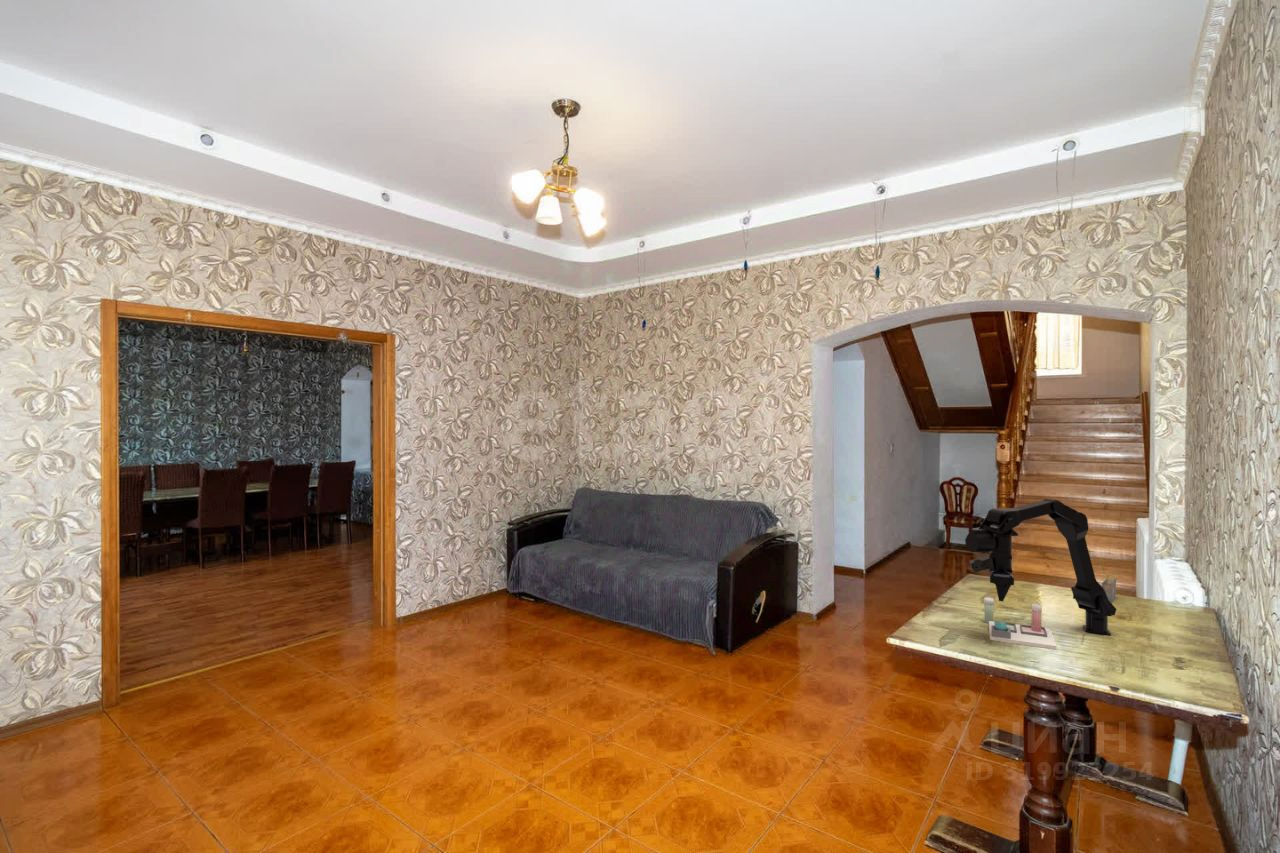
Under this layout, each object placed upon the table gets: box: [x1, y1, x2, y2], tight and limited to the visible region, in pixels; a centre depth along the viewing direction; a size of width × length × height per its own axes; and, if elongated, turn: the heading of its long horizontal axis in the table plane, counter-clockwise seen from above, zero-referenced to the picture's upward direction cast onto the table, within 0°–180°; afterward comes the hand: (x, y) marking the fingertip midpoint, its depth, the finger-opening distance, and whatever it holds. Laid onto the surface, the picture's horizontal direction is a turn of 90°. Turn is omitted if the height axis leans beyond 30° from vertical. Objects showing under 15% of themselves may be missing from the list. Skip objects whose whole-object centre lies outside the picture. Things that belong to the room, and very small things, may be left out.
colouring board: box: [988, 620, 1058, 650], centre depth 193 cm, size 17×17×3 cm
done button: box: [994, 621, 1007, 631], centre depth 190 cm, size 3×3×2 cm
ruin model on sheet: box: [1101, 571, 1117, 604], centre depth 232 cm, size 11×3×10 cm, turn 134°
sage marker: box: [983, 596, 995, 624], centre depth 206 cm, size 3×3×8 cm
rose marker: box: [1030, 603, 1043, 632], centre depth 194 cm, size 3×3×8 cm
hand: (1001, 600), depth 190 cm, fingers closed
